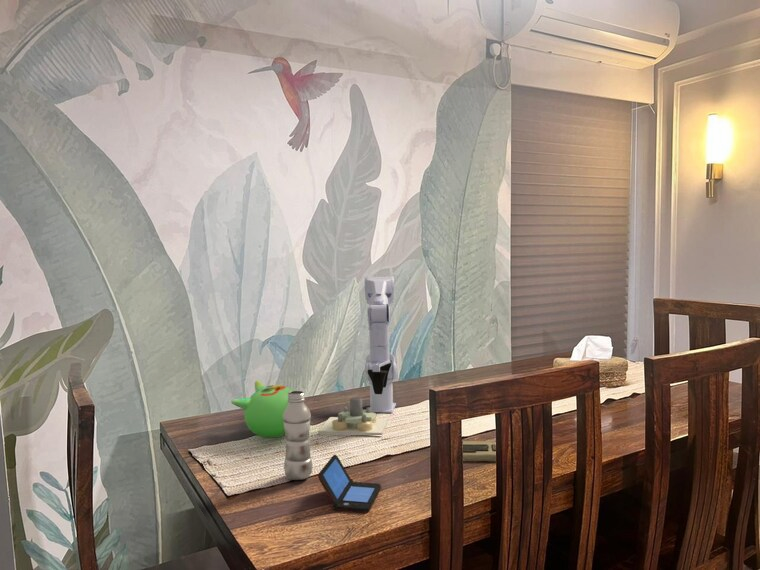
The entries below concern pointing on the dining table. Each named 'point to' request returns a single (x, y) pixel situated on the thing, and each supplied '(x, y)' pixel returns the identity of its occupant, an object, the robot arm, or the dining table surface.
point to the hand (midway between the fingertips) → (380, 390)
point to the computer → (479, 451)
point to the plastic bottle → (297, 437)
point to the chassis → (354, 426)
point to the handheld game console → (347, 488)
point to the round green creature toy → (265, 409)
